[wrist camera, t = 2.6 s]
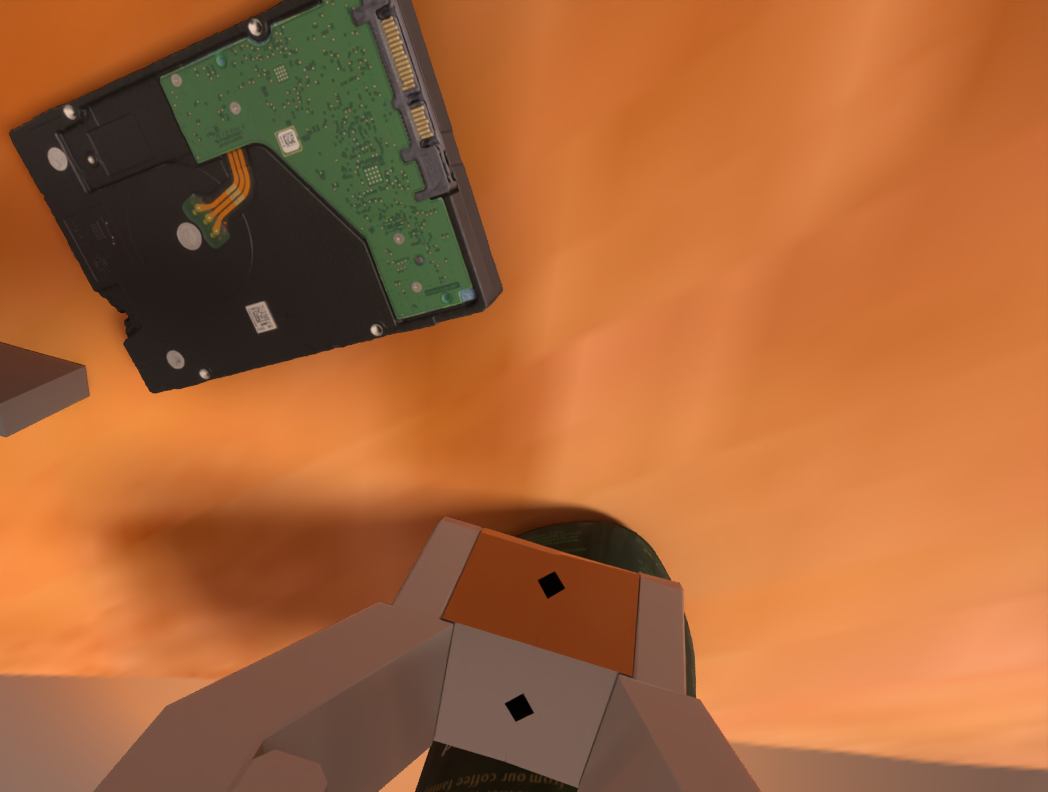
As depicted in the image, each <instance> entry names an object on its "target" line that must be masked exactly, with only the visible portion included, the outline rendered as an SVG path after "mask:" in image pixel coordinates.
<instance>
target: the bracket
mask: <svg viewBox="0 0 1048 792" xmlns="http://www.w3.org/2000/svg"><path fill="white" fill-rule="evenodd" d="M88 396H90V395H89V389H88V382H87V375H86V368H85V366H83V365H80V364H76V363H73V362H69V361H65V360H62V359H58V358H55V357H51V356H47V355H44V354H40V353H36V352H33V351H29V350H26V349H22V348H18V347H15V346H11V345H8V344H4V343H0V436H3V437H8V436H10V435H12V434H14V433H16V432H18V431H20V430H22V429H24V428H26V427H28V426H30V425H32V424H34V423H36V422H38V421H40V420H42V419H44V418H46V417H48V416H50V415H52V414H54V413H56V412H58V411H60V410H62V409H64V408H66V407H68V406H70V405H72V404H74V403H76V402H78V401H80V400H82V399H84V398H86V397H88Z"/></svg>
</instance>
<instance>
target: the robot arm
mask: <svg viewBox="0 0 1048 792" xmlns="http://www.w3.org/2000/svg"><path fill="white" fill-rule="evenodd" d="M433 740H434V741H437V742H440V743H444V744H447V745H451V746H454V747H457V748H461V749H464V750H467V751H471V752H474V753H477V754H481V755H484V756H488V757H491V758H494V759H498V760H501V761H504V762H505V760H506V762H507V763H510V764H513V765H515V766H518V767H521V768H524V769H527V770H529V771H532V772H535V773H538V774H540V775H543V776H546V777H549V778H552V779H554V780H557V781H560V782H563V783H565V784H568V785H571V786H574V787H576V788H578V791H577V792H761V790H760V789H759V787H758V786H757V784H756V783H755V781H754V780H753V778H752V777H751V775H750V774H749V772H748V771H747V769H746V768H745V766H744V765H743V763H742V762H741V760H740V759H739V757H738V756H737V754H736V753H735V751H734V750H733V748H732V747H731V745H730V744H729V742H728V741H727V739H726V738H725V736H724V735H723V733H722V732H721V730H720V729H719V727H718V726H717V724H716V723H715V721H714V720H713V718H712V717H711V715H710V714H709V712H708V711H707V709H706V708H705V706H704V705H703V703H702V702H701V700H700V699H697V698H694V697H690V696H687V695H686V664H685V629H684V594H683V588H682V586H681V584H680V583H678V582H674V581H670V580H667V579H663V578H659V577H655V576H651V575H647V574H644V573H639V574H638V573H635V572H632V571H628V570H625V569H621V568H618V567H614V566H610V565H607V564H603V563H600V562H596V561H593V560H589V559H586V558H582V557H578V556H575V555H571V554H568V553H564V552H561V551H559V550H555V549H552V548H549V547H546V546H542V545H539V544H536V543H533V542H530V541H526V540H523V539H520V538H517V537H514V536H510V535H507V534H504V533H501V532H497V531H494V530H491V529H488V528H485V527H484V528H482V527H480V526H477V525H473V524H470V523H467V522H463V521H460V520H457V519H453V518H450V517H447V516H445V517H444V518H443V519H442V520H441V521H439V522H438V524H437V526H436V527H435V529H434V531H433V533H432V534H431V536H430V538H429V540H428V542H427V543H426V545H425V547H424V549H423V550H422V552H421V554H420V556H419V557H418V559H417V561H416V563H415V564H414V566H413V568H412V570H411V571H410V573H409V575H408V577H407V579H406V580H405V582H404V584H403V586H402V587H401V589H400V591H399V593H398V594H397V596H396V598H395V600H394V601H393V603H392V605H390V604H387V603H383V602H380V601H379V602H377V603H375V604H373V605H371V606H369V607H367V608H365V609H363V610H361V611H359V612H357V613H355V614H353V615H351V616H349V617H347V618H344V619H342V620H340V621H338V622H336V623H334V624H332V625H330V626H328V627H326V628H324V629H322V630H320V631H318V632H316V633H314V634H312V635H310V636H308V637H306V638H304V639H302V640H300V641H298V642H296V643H294V644H292V645H290V646H288V647H285V648H283V649H281V650H279V651H277V652H275V653H273V654H271V655H269V656H267V657H265V658H263V659H261V660H259V661H257V662H255V663H253V664H251V665H249V666H247V667H245V668H243V669H241V670H239V671H237V672H235V673H233V674H231V675H229V676H227V677H224V678H222V679H220V680H218V681H216V682H214V683H212V684H210V685H208V686H206V687H204V688H202V689H200V690H198V691H196V692H194V693H192V694H190V695H188V696H186V697H184V698H182V699H180V700H178V701H176V702H174V703H172V704H170V705H168V706H166V707H165V708H164V709H163V710H162V712H161V713H160V714H159V715H158V716H157V718H156V719H155V720H154V721H153V722H152V723H151V724H150V726H149V727H148V728H147V729H146V730H145V732H144V733H143V734H142V735H141V736H140V737H139V738H138V740H137V741H136V742H135V743H134V744H133V746H132V747H131V748H130V749H129V750H128V752H127V753H126V754H125V755H124V756H123V757H122V758H121V760H120V761H119V762H118V763H117V764H116V765H115V767H114V768H113V769H112V770H111V771H110V772H109V774H108V775H107V776H106V777H105V778H104V780H103V781H102V782H101V783H100V784H99V785H98V787H97V788H96V789H95V790H94V791H93V792H378V791H379V790H380V789H382V788H383V787H384V786H385V785H386V784H387V783H389V782H390V781H391V780H392V779H393V778H394V777H396V776H397V775H398V774H399V773H400V772H401V771H403V770H404V769H405V768H406V767H407V766H408V765H410V764H411V763H412V762H413V761H414V760H415V759H417V758H418V757H419V756H420V755H421V754H422V753H423V752H425V751H426V750H427V749H428V748H429V747H430V746H432V742H433Z"/></svg>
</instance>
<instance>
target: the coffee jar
mask: <svg viewBox="0 0 1048 792" xmlns="http://www.w3.org/2000/svg"><path fill="white" fill-rule="evenodd" d="M517 538H520V539H523V540H526V541H530V542H533V543H536V544H539V545H542V546H546V547H549V548H552V549H555V550H559V551H561V552H564V553H568V554H571V555H575V556H578V557H582V558H586V559H589V560H593V561H596V562H600V563H603V564H607V565H610V566H614V567H618V568H621V569H625V570H628V571H632V572H635V573H638V574H639V573H644V574H647V575H651V576H655V577H659V578H663V579H667V580H670V581H671V579H670V577H669V575H668V573H667V572H666V570H665V568H664V566H663V564H662V562H661V561H660V559H659V558H658V556H657V554H656V553H655V551H654V550H653V548H652V547H651V546H650V545H649V544H648V543H647V542H646V541H645V540H644V539H643V538H642V537H641V536H639V535H638V534H637V533H636V532H634V531H631V530H629V529H627V528H624V527H622V526H619V525H616V524H613V523H608V522H602V521H576V522H568V523H561V524H554V525H550V526H546V527H542V528H539V529H535V530H532V531H528V532H526V533H524V534H521V535H519V536H517ZM684 629H685V664H686V695H687V696H690V697H694V698H696V676H695V655H694V649H693V642H692V638H691V635H690V630H689V626H688V622H687V620H686V616H685V613H684ZM577 791H578V788H576V787H574V786H571V785H568V784H565V783H563V782H560V781H557V780H554V779H552V778H549V777H546V776H543V775H540V774H538V773H535V772H532V771H529V770H527V769H524V768H521V767H518V766H515V765H513V764H510V763H507V762H506V760H505V762H504V761H501V760H498V759H494V758H491V757H488V756H484V755H481V754H477V753H474V752H471V751H467V750H464V749H461V748H457V747H454V746H451V745H447V744H444V743H440V742H437V741H434V740H433V742H432V746H430V749H429V752H428V755H427V758H426V761H425V764H424V767H423V770H422V773H421V776H420V779H419V782H418V785H417V788H416V791H415V792H577Z"/></svg>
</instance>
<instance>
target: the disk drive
mask: <svg viewBox="0 0 1048 792" xmlns="http://www.w3.org/2000/svg"><path fill="white" fill-rule="evenodd" d="M9 135H10V137H11V139H12V142H13V144H14V146H15V148H16V149H17V151H18V153H19V155H20V157H21V158H22V160H23V162H24V164H25V166H26V167H27V169H28V170H29V173H30V175H31V176H32V178H33V180H34V182H35V184H36V185H37V187H38V189H39V190H40V192H41V193H42V194H43V195H44V199H45V201H46V202H47V204H48V206H49V207H50V209H51V212H52V214H53V215H54V216H55V219H56V221H57V223H58V225H59V227H60V228H61V230H62V232H63V234H64V236H65V237H66V239H67V241H68V244H69V246H70V248H71V250H72V252H73V253H74V256H75V257H76V259H77V260H78V262H79V263H80V265H81V268H82V270H83V272H84V274H85V276H86V277H87V279H88V281H89V283H90V284H91V286H92V288H93V290H94V291H96V292H98V293H99V294H100V295H101V296H102V297H103V298H106V299H107V300H108V301H109V303H110V304H111V305H112V306H114V307H115V308H116V309H117V311H118V312H120V313H125V312H126V313H127V315H128V318H127V319H126V320H125V321H124V324H125V326H126V334H127V336H128V338H127V339H126V340H125V341H124V344H123V345H124V346H125V348H126V350H127V351H128V353H129V355H130V357H131V358H132V361H133V362H134V363H135V366H136V367H137V369H138V370H139V373H140V375H141V377H142V379H143V380H144V382H145V384H146V386H147V387H148V389H149V391H150V392H152V393H159V392H163V391H168V390H172V389H182V388H185V387H189V386H194V385H198V384H200V383H203V382H206V381H208V380H212V379H216V378H221V377H225V376H230V375H233V374H238V373H240V372H244V371H248V370H252V369H255V368H260V367H264V366H267V365H273V364H276V363H281V362H284V361H289V360H292V359H295V358H299V357H303V356H308V355H312V354H317V353H319V352H322V351H329V350H331V349H334V348H339V347H345V346H348V345H352V344H355V343H359V342H365V341H370V340H373V339H375V338H380V337H384V336H386V335H391V334H395V333H401V332H407V331H412V330H416V329H421V328H424V327H430V326H434V325H436V324H438V323H439V322H442V321H446V320H450V319H455V318H459V317H464V316H468V315H472V314H473V313H479V312H482V311H484V310H486V309H487V308H488V307H489V306H490V305H491V304H492V303H493V302H494V301H495V300H496V298H497V297H498V296H499V295H500V294H501V293H502V291H503V287H502V284H501V281H500V278H499V275H498V272H497V269H496V265H495V263H494V260H493V257H492V255H491V251H490V248H489V244H488V240H487V237H486V234H485V231H484V228H483V225H482V221H481V218H480V215H479V212H478V209H477V205H476V202H475V199H474V196H473V193H472V189H471V186H470V183H469V180H468V177H467V174H466V171H465V167H464V165H463V163H462V161H461V158H460V155H459V151H458V148H457V145H456V142H455V139H454V136H453V132H452V126H451V123H450V120H449V117H448V114H447V111H446V108H445V104H444V101H443V98H442V95H441V92H440V89H439V86H438V83H437V80H436V77H435V73H434V70H433V67H432V64H431V61H430V58H429V55H428V51H427V48H426V45H425V42H424V40H423V37H422V33H421V30H420V27H419V23H418V20H417V17H416V14H415V11H414V7H413V4H412V2H411V0H284V1H281V2H280V3H278V4H277V5H276V6H274V7H272V8H271V9H269V10H267V11H266V12H262V13H261V14H260V15H256V16H255V17H251V18H250V19H248V20H246V21H243V22H241V23H239V24H236V25H234V26H233V27H230V28H228V29H226V30H224V31H222V32H219V33H216V34H214V35H213V36H211V37H208V38H205V39H204V40H203V41H199V42H197V43H194V44H192V45H191V46H188V47H187V48H185V49H182V50H180V51H179V52H175V53H174V54H171V55H169V56H168V57H165V58H162V59H161V60H159V61H157V62H154V63H152V64H151V65H149V66H147V67H145V68H143V69H141V70H138V71H135V72H133V73H131V74H129V75H128V76H126V77H123V78H120V79H118V80H116V81H114V82H112V83H110V84H108V85H105V86H103V87H102V88H100V89H97V90H95V91H93V92H90V93H88V94H86V95H84V96H82V97H79V98H78V99H76V100H74V101H72V102H69V103H68V104H63V105H60V106H57V107H55V108H53V109H49V110H48V111H46V112H43V113H41V114H40V115H38V116H36V117H34V118H33V119H32V120H31V121H29V122H27V123H24V124H23V125H22V126H19V127H17V128H15V129H12V130H11V131H10V132H9Z"/></svg>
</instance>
